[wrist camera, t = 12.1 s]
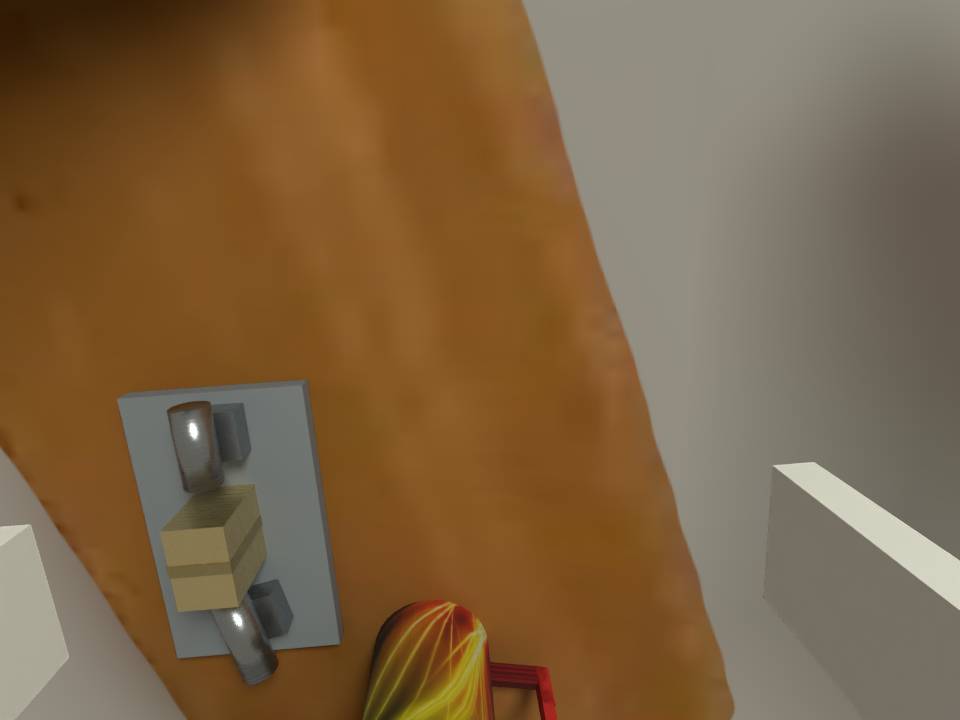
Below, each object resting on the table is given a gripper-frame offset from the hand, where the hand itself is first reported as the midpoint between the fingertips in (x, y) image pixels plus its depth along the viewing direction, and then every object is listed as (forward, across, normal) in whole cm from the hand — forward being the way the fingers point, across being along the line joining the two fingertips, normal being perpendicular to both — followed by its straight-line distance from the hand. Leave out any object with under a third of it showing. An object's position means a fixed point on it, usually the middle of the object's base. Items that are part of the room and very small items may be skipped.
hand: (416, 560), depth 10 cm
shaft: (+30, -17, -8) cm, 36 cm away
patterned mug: (+32, -1, -29) cm, 43 cm away
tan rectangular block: (+30, -17, -15) cm, 38 cm away
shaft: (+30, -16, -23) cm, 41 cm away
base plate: (+32, -17, -16) cm, 39 cm away
